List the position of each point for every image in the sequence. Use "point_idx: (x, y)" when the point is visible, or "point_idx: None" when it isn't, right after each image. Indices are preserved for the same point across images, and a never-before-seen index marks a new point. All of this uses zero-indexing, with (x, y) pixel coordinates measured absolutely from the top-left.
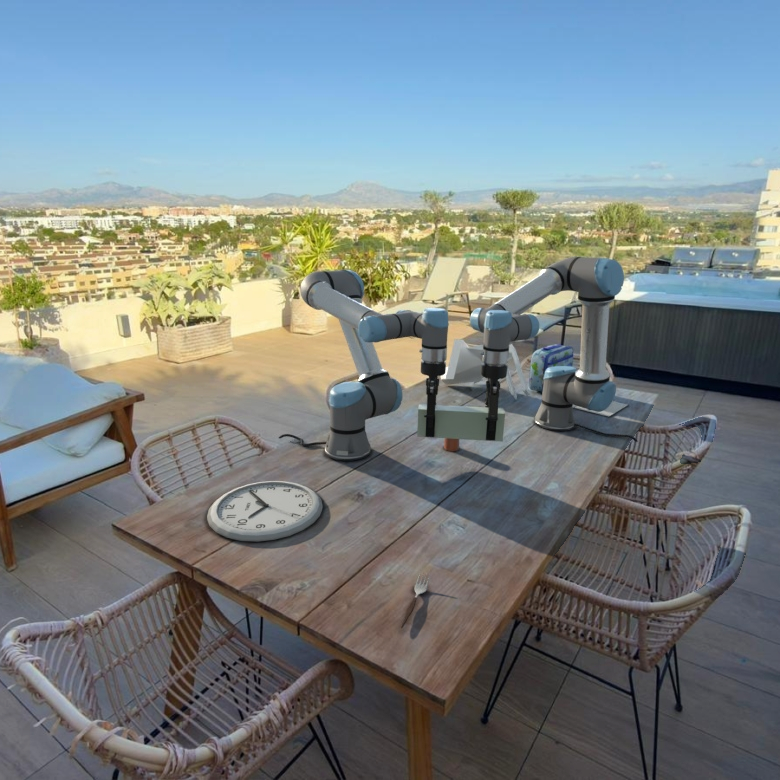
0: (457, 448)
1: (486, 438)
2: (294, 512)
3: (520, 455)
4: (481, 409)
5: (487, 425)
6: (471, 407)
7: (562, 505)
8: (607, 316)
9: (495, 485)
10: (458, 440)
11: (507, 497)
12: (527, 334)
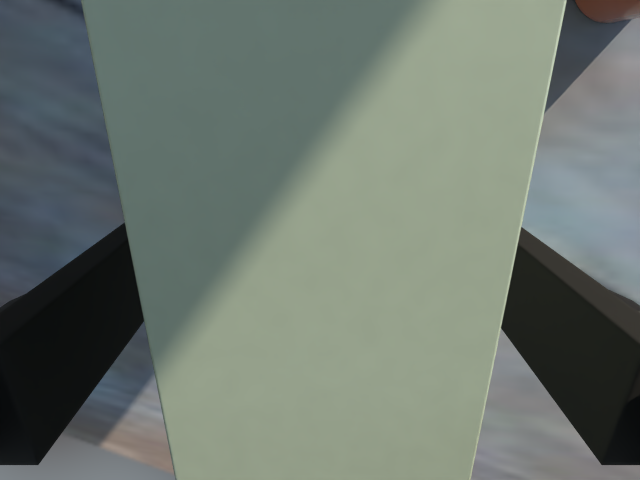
0: (590, 11)
1: (121, 230)
2: None
3: (502, 333)
4: (346, 293)
5: (27, 299)
6: (480, 47)
7: (96, 411)
8: None
9: None
10: (635, 5)
11: (83, 247)
12: None
